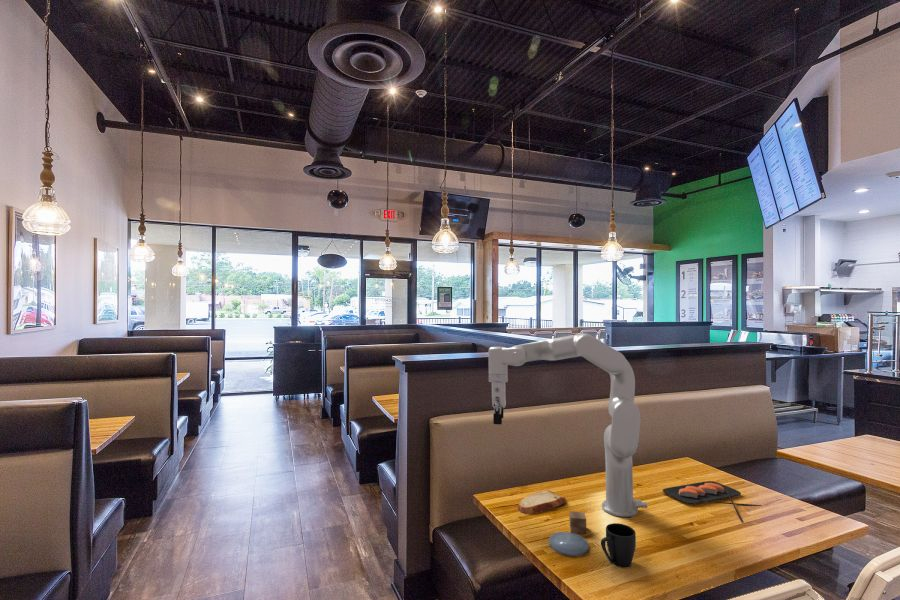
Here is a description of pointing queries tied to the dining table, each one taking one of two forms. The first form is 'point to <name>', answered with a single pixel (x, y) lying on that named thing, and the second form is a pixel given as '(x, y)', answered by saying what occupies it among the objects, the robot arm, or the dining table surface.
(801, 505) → the dining table surface
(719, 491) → the sushi plate
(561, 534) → the dish
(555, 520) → the dining table surface
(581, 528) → the block
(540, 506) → the bread slice
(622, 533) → the mug
